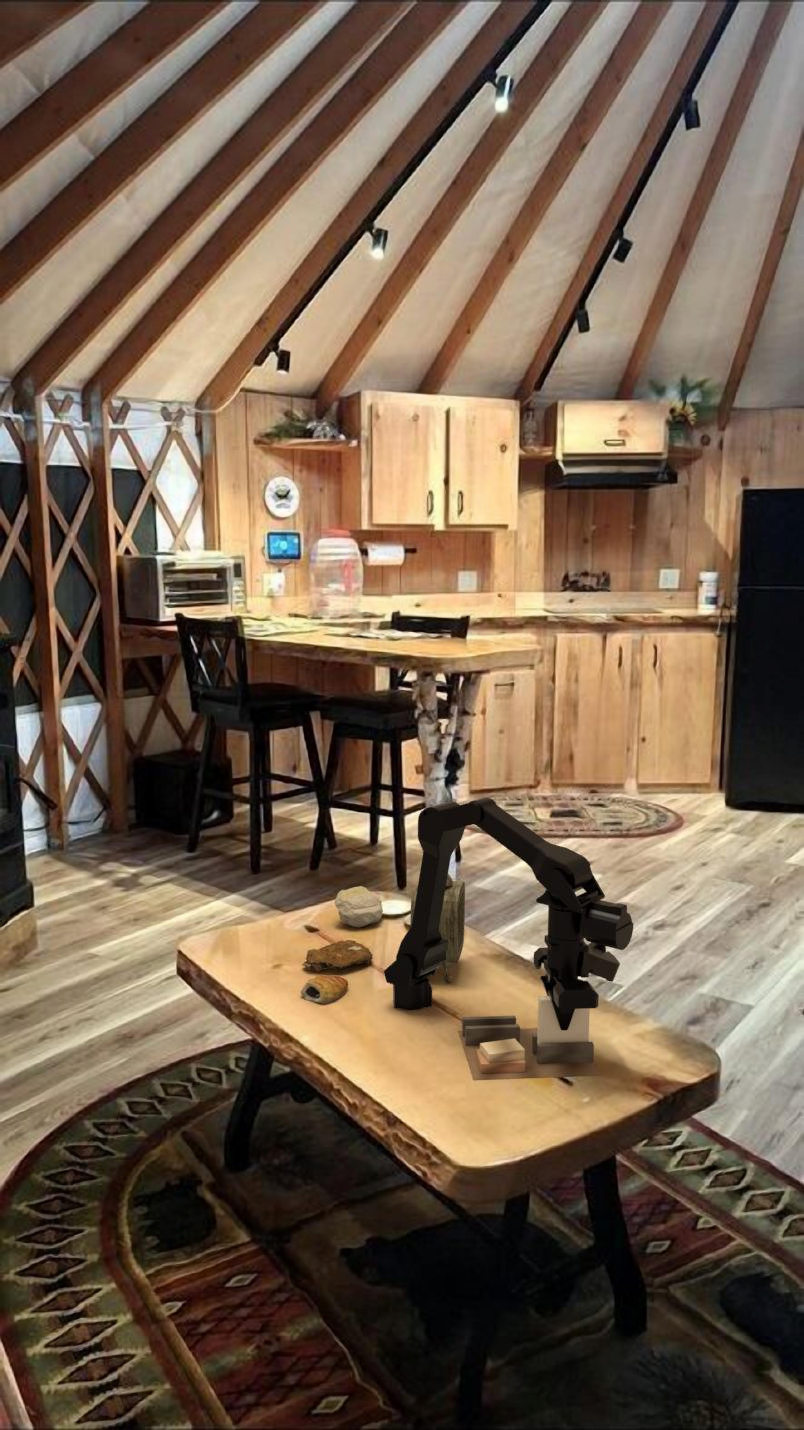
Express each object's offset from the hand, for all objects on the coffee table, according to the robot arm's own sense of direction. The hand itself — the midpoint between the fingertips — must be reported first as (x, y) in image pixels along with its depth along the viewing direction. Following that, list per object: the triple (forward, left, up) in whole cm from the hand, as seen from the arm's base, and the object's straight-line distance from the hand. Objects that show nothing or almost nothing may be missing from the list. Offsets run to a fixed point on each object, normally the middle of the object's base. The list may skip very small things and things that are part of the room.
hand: (562, 1027), depth 164 cm
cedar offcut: (-10, -2, -5) cm, 12 cm away
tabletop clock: (-15, +40, -7) cm, 43 cm away
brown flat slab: (-35, +45, -7) cm, 58 cm away
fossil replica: (-29, +69, -7) cm, 75 cm away
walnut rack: (-5, +2, -6) cm, 9 cm away
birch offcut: (-10, -2, -4) cm, 11 cm away
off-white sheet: (0, 0, -5) cm, 5 cm away
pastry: (-38, +30, -7) cm, 49 cm away
